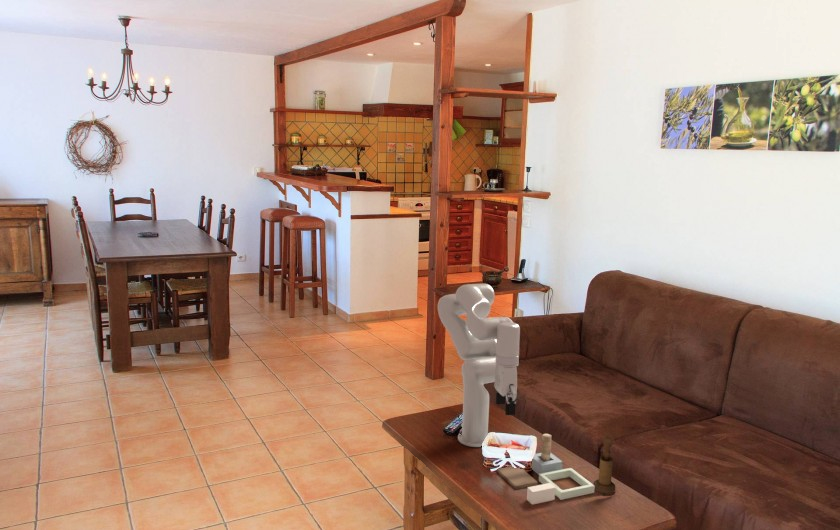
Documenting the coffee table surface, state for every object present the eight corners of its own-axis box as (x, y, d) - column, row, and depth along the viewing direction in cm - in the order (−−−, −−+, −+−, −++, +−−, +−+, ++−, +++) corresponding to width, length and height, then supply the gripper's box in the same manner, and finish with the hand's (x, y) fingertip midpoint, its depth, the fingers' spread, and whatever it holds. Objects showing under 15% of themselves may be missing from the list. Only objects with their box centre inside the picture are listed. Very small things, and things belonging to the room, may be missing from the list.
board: (497, 475, 211) (497, 468, 211) (518, 472, 214) (518, 465, 214) (515, 493, 200) (515, 486, 200) (537, 489, 203) (537, 482, 203)
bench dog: (526, 502, 194) (527, 487, 194) (548, 497, 197) (549, 482, 197) (531, 507, 192) (532, 492, 191) (554, 502, 195) (555, 487, 194)
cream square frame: (538, 483, 206) (539, 474, 206) (570, 477, 211) (571, 467, 210) (560, 502, 195) (561, 492, 194) (594, 495, 199) (594, 485, 199)
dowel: (538, 468, 214) (540, 434, 212) (546, 466, 215) (548, 433, 213) (543, 472, 212) (545, 438, 210) (551, 470, 213) (553, 436, 211)
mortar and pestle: (599, 497, 199) (603, 443, 196) (589, 486, 205) (593, 434, 202) (618, 495, 200) (623, 441, 197) (608, 485, 206) (612, 432, 203)
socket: (528, 468, 216) (528, 454, 215) (548, 464, 219) (549, 451, 218) (541, 479, 209) (542, 465, 208) (561, 475, 212) (562, 461, 211)
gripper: (488, 352, 218) (486, 400, 221) (504, 368, 201) (502, 419, 204) (509, 351, 219) (507, 399, 222) (527, 367, 203) (525, 418, 205)
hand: (505, 409), depth 213 cm, fingers open, 9 cm apart
